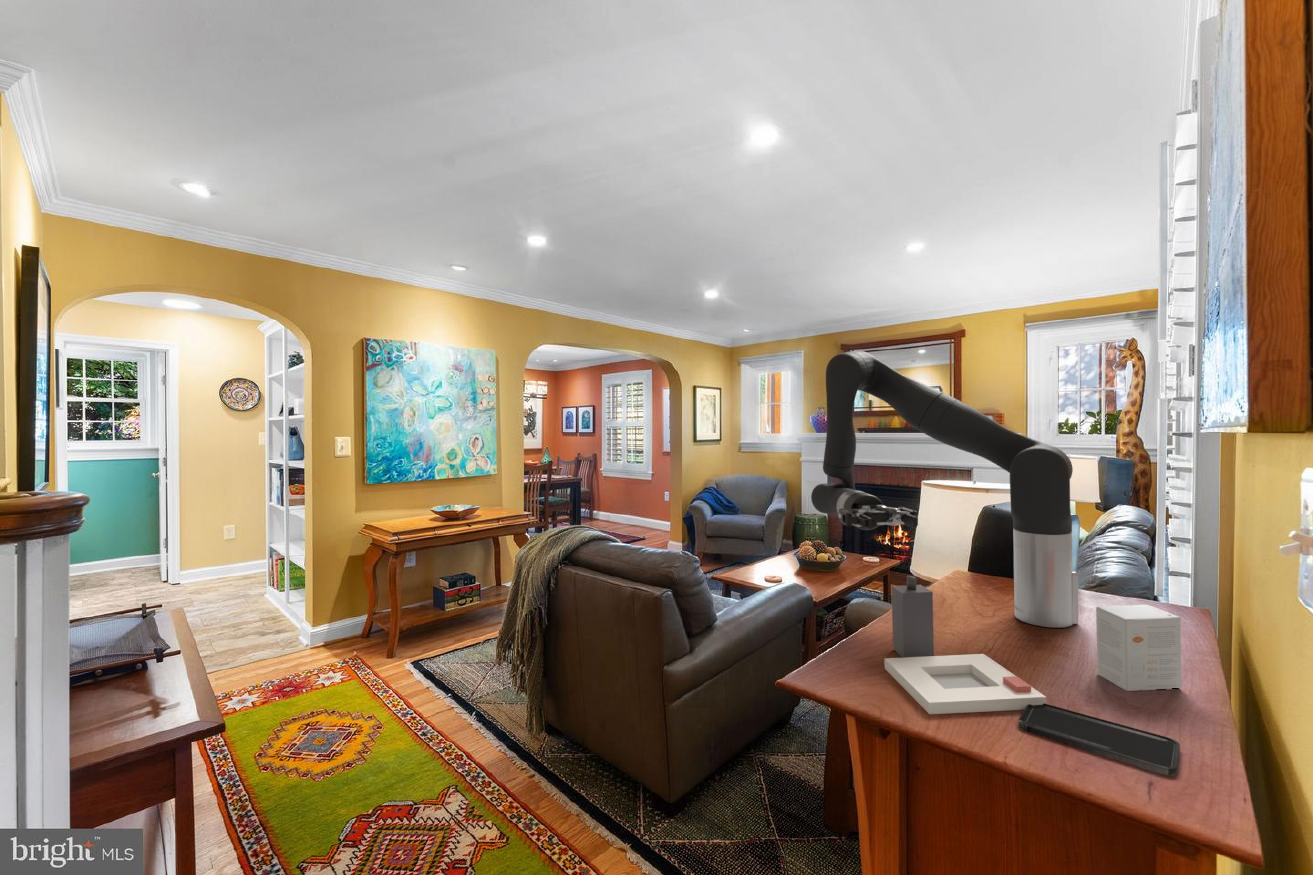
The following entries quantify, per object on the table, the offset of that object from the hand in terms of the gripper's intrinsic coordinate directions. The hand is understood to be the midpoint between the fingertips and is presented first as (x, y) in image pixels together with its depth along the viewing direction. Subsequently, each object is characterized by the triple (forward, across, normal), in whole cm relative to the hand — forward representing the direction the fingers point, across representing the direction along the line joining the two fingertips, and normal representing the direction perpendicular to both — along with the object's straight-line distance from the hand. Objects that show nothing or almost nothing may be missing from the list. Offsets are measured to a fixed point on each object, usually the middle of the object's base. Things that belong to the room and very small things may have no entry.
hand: (892, 523), depth 106 cm
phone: (+38, +8, +20) cm, 44 cm away
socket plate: (+24, -1, +20) cm, 31 cm away
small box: (+25, +25, +20) cm, 40 cm away
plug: (+12, -2, +20) cm, 23 cm away
